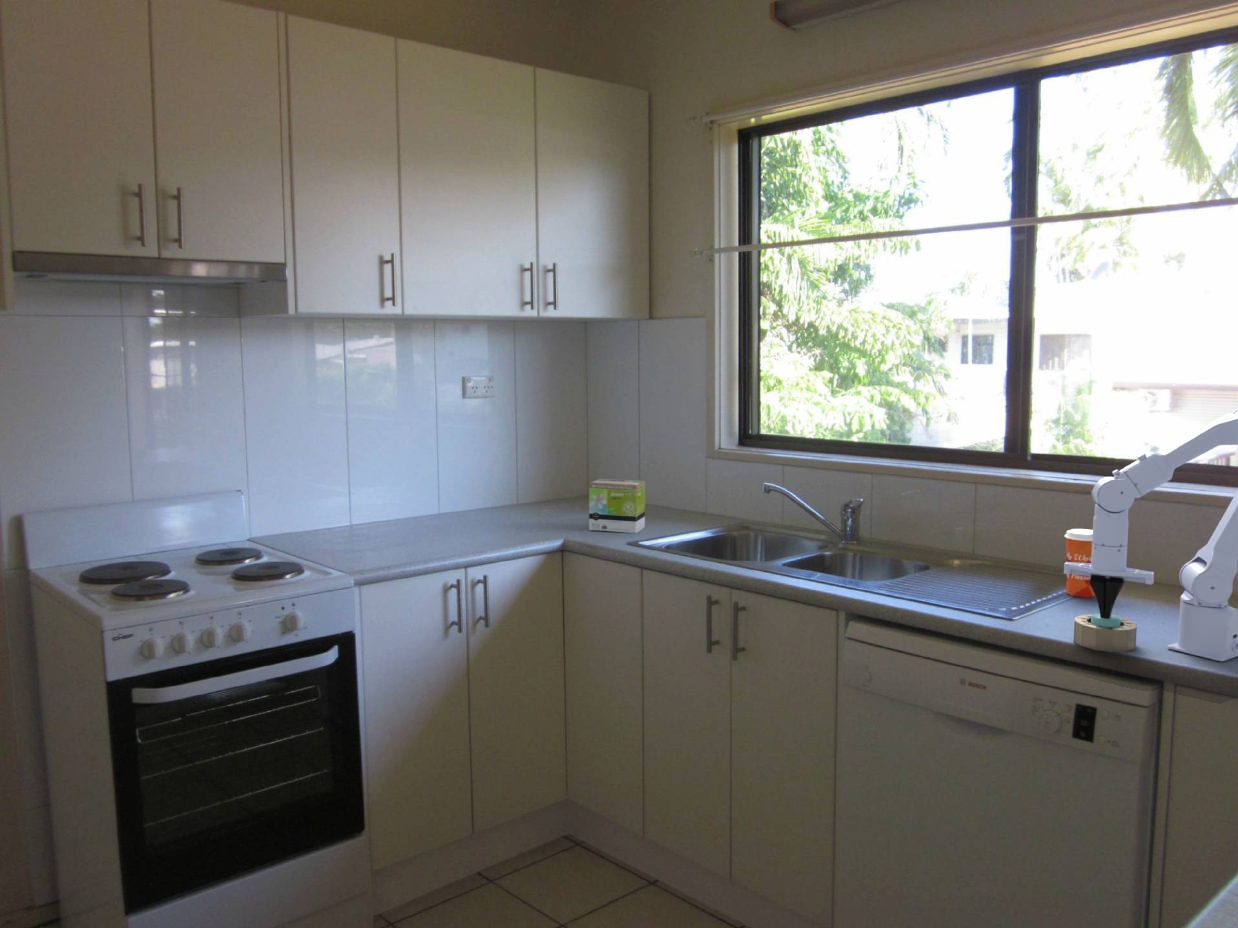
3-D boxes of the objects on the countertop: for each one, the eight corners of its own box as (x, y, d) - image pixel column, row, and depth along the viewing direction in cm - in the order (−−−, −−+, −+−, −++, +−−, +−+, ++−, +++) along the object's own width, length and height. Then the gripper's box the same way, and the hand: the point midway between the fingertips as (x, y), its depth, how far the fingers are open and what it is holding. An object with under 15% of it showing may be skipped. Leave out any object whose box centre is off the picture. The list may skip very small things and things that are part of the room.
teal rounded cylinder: (1124, 644, 179) (1125, 617, 178) (1110, 649, 176) (1111, 622, 175) (1099, 638, 183) (1100, 612, 182) (1084, 642, 180) (1085, 616, 179)
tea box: (588, 531, 292) (587, 482, 290) (598, 525, 302) (598, 477, 300) (636, 533, 288) (636, 483, 286) (645, 527, 297) (645, 479, 296)
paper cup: (1055, 594, 215) (1059, 531, 213) (1069, 588, 220) (1072, 526, 219) (1093, 600, 209) (1096, 536, 208) (1106, 594, 215) (1109, 531, 213)
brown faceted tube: (1146, 645, 178) (1148, 624, 177) (1115, 655, 172) (1116, 633, 172) (1093, 632, 186) (1094, 611, 186) (1062, 641, 181) (1063, 620, 180)
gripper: (1158, 544, 176) (1153, 618, 178) (1071, 535, 185) (1068, 606, 186) (1151, 551, 170) (1147, 627, 172) (1062, 542, 179) (1059, 614, 181)
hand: (1105, 617), depth 179 cm, fingers closed, pressing on teal rounded cylinder
